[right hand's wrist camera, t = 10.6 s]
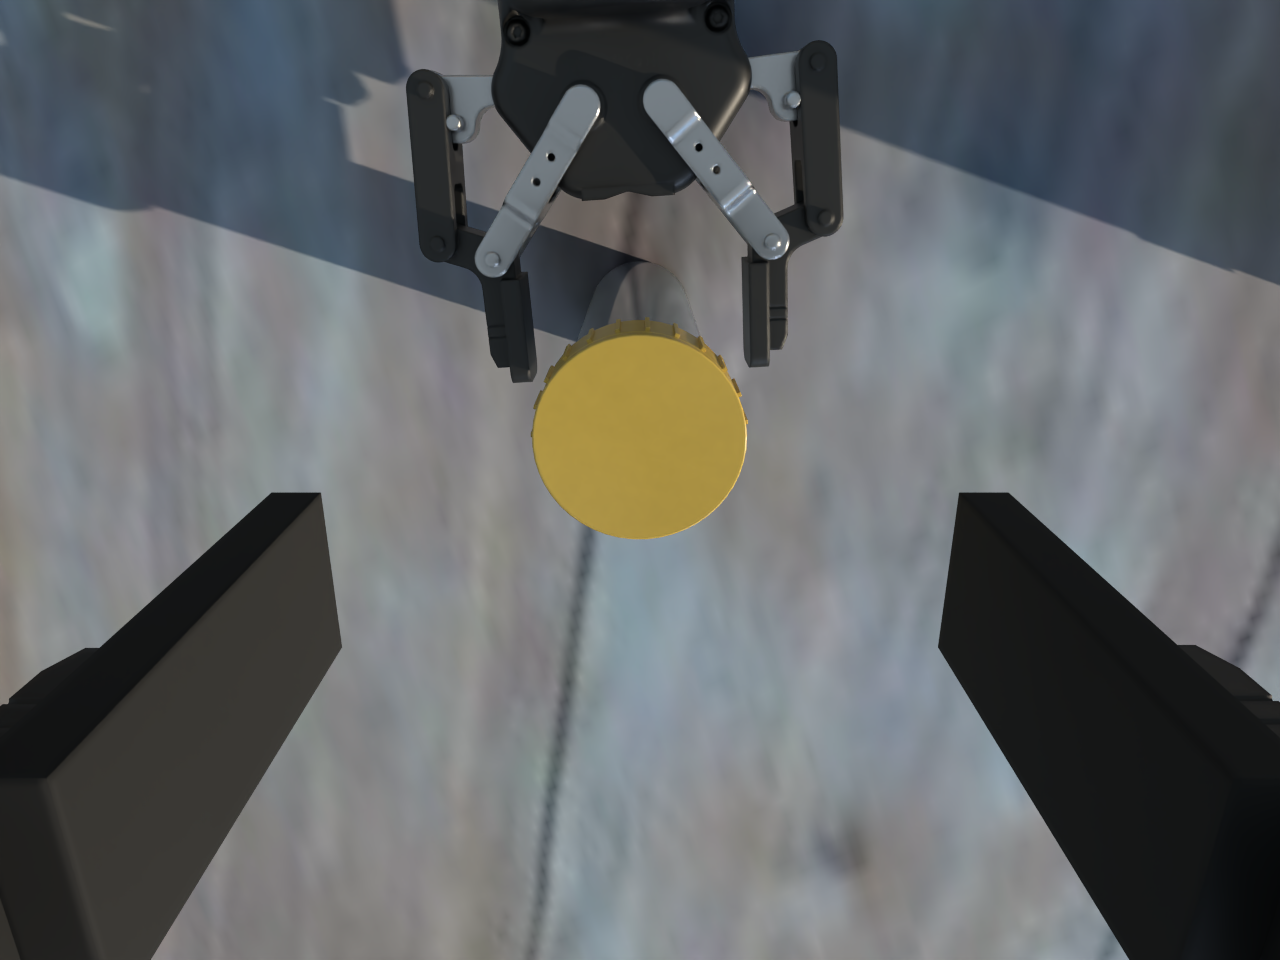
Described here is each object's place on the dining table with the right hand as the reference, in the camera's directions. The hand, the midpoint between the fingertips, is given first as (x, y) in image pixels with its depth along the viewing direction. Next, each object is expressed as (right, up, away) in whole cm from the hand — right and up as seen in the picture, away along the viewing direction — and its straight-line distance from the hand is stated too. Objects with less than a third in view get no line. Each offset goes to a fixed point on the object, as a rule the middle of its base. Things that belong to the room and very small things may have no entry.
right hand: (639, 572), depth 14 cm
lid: (0, +2, +7) cm, 7 cm away
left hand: (0, +5, +18) cm, 19 cm away
